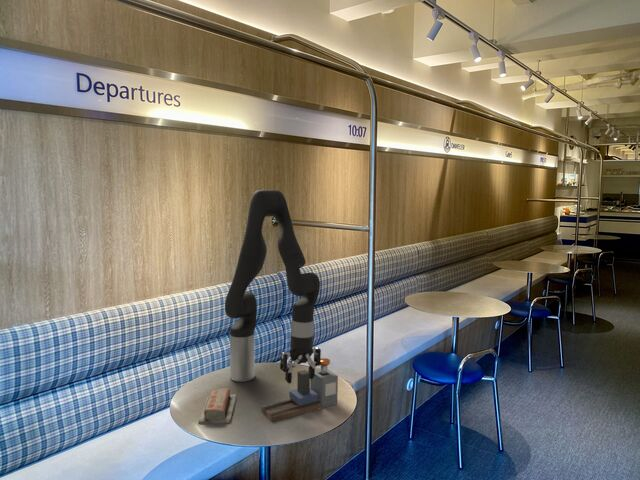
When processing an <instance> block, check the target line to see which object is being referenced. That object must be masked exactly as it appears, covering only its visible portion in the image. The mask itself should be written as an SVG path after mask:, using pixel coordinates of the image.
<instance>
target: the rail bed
mask: <svg viewBox="0 0 640 480" xmlns="http://www.w3.org/2000/svg"><path fill="white" fill-rule="evenodd" d="M319 402H320V401H319V400H318V401H316V402H312V403H308V404H305V405H301V406H299V405H298V404H296V403H295V402H294V401H293V400H292V399H290V398H289V399H284V400H280V401H278V402H273V403H269V404H264V405H262V406H261V413H262V414H263V415H264V416H265V417H266V418H268V419H269V420H270V422H277V421H279V420H284V419H287V418H291V417H294V416H298V414H299V415H302V414H306V413H309V412H313V411H317V410H321V409H322V407H321V404H320V403H319Z"/></svg>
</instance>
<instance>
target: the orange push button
mask: <svg viewBox="0 0 640 480" xmlns="http://www.w3.org/2000/svg"><path fill="white" fill-rule="evenodd" d="M330 364H331V360H330V359H329V358H324V357H323V358H321V361H320V369H321V375H322V376H325V375H328V370H329V369H328V366H329V365H330Z"/></svg>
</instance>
